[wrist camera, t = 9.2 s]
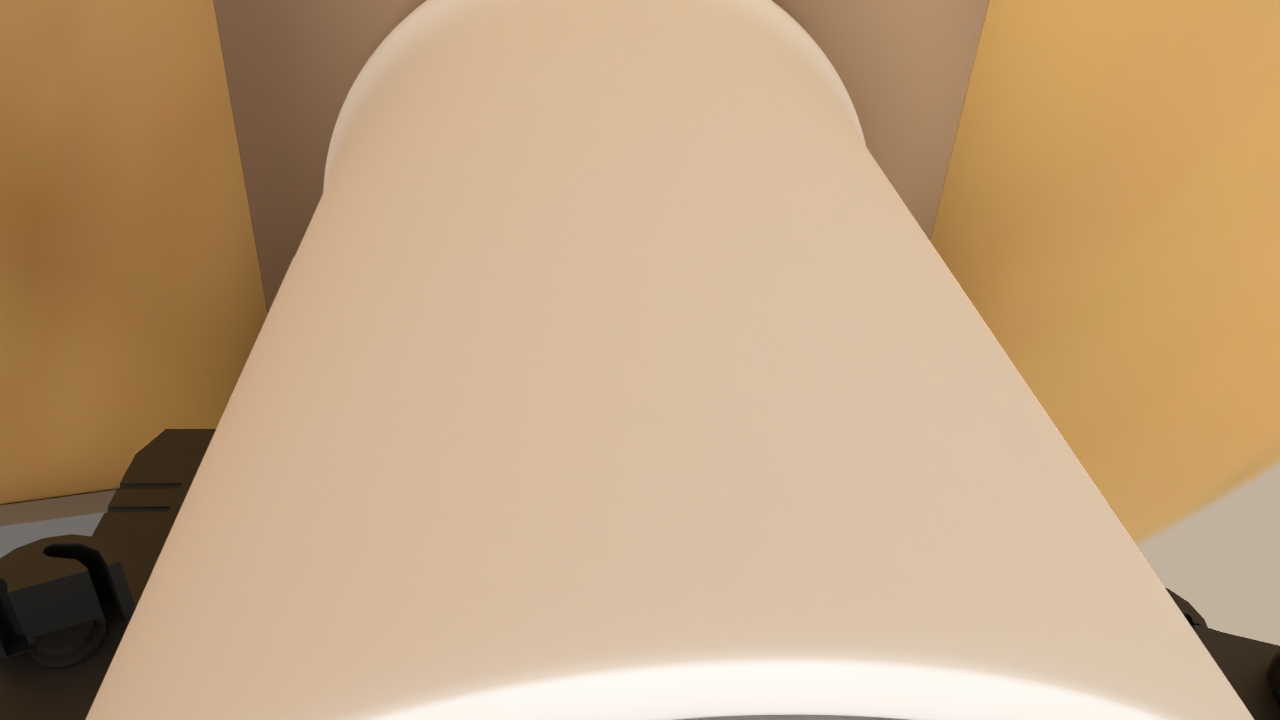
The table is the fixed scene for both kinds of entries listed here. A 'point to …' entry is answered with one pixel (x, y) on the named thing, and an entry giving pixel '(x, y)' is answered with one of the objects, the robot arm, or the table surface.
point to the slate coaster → (51, 518)
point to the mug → (636, 421)
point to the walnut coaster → (376, 3)
